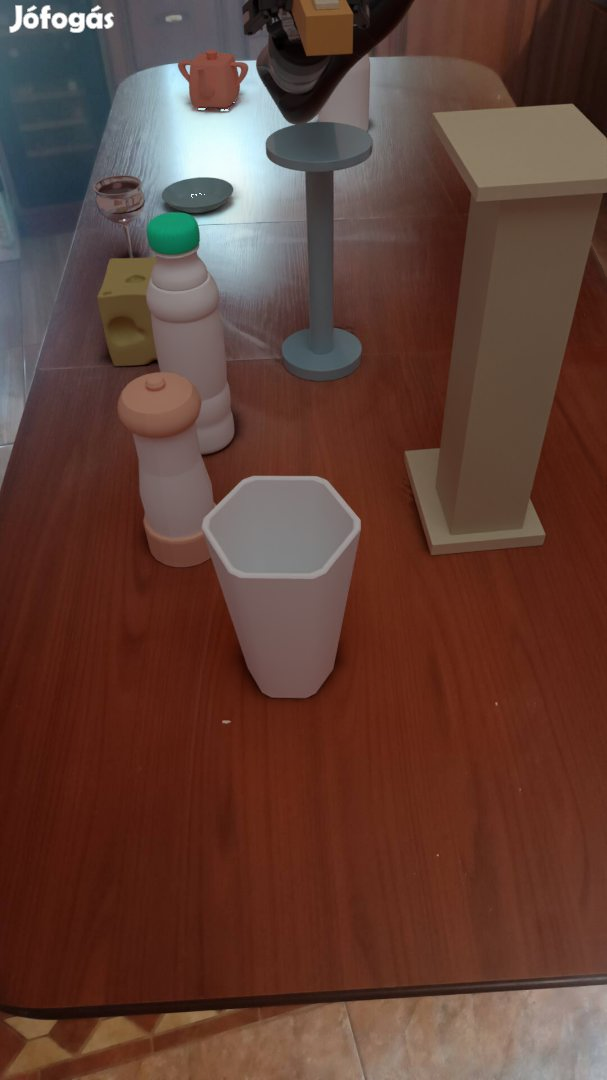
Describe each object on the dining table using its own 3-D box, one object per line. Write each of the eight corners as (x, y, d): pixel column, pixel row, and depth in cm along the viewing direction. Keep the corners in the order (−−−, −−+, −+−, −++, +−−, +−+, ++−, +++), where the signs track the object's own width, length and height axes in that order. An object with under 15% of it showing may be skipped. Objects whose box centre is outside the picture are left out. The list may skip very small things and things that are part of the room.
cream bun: (289, 5, 80) (288, -37, 78) (328, 3, 81) (329, -39, 78) (306, 56, 69) (305, 8, 66) (352, 54, 69) (353, 6, 66)
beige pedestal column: (403, 461, 86) (432, 112, 61) (503, 452, 87) (572, 103, 62) (430, 555, 77) (478, 187, 52) (543, 545, 77) (644, 175, 52)
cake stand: (358, 331, 105) (364, 118, 86) (371, 379, 97) (381, 157, 78) (274, 338, 104) (262, 125, 86) (281, 387, 97) (269, 165, 78)
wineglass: (100, 267, 119) (82, 185, 110) (137, 251, 122) (122, 170, 114) (128, 282, 116) (111, 199, 107) (165, 265, 119) (152, 183, 110)
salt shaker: (237, 540, 79) (217, 376, 65) (179, 579, 76) (144, 416, 62) (191, 504, 83) (162, 343, 69) (134, 541, 79) (91, 378, 65)
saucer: (160, 222, 129) (158, 208, 127) (166, 191, 137) (164, 178, 136) (233, 219, 129) (232, 204, 128) (235, 188, 137) (234, 175, 136)
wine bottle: (308, 133, 154) (304, -58, 133) (343, 120, 159) (345, -67, 137) (343, 146, 149) (344, -51, 128) (378, 132, 154) (386, -60, 132)
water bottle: (190, 413, 93) (155, 199, 76) (245, 425, 92) (223, 209, 74) (161, 449, 89) (117, 231, 71) (218, 463, 87) (188, 242, 69)
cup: (355, 618, 72) (360, 475, 59) (356, 717, 65) (361, 578, 52) (231, 617, 72) (210, 474, 60) (219, 715, 65) (192, 576, 53)
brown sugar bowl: (177, 101, 170) (170, 46, 162) (229, 91, 173) (224, 37, 166) (203, 121, 161) (196, 65, 153) (256, 110, 164) (253, 55, 157)
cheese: (193, 366, 100) (182, 293, 93) (107, 369, 100) (90, 296, 93) (200, 322, 107) (190, 251, 100) (120, 325, 108) (105, 254, 100)
